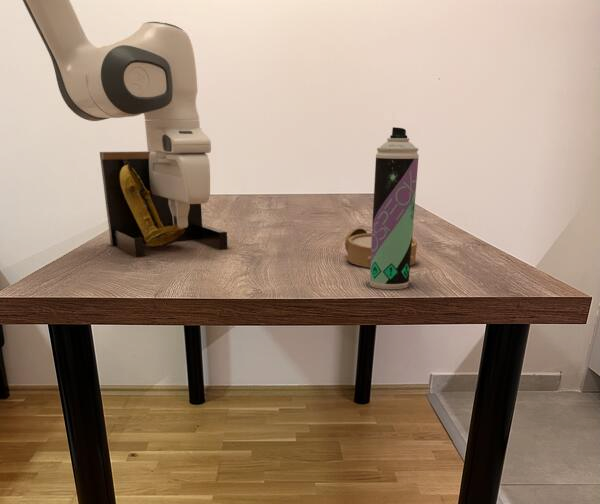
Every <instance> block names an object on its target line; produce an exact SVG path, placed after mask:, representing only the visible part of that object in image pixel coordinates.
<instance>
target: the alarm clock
mask: <svg viewBox="0 0 600 504" xmlns="http://www.w3.org/2000/svg"><path fill="white" fill-rule="evenodd" d="M371 242H372V232H367V231H366V230H365V229H363V228H354V229H352V230H351V231H349V232H348V234H347V235H346V237H345V241H344V247H345V250H346V252H347V255H346V256H347V258H346V259H347V262H349V263H351V264H352V265H356V266H359V267H363V268H368V269H370V262H371ZM417 248H418V240H417V239H415V238H413V237H412V247H411V260H410V266H412V265H414V264H416V260H417V259H416V257H417Z"/></svg>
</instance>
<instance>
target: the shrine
mask: <svg viewBox="0 0 600 504" xmlns="http://www.w3.org/2000/svg"><path fill="white" fill-rule="evenodd" d="M123 162H124V166H123V167H122V169H121V171H120V184H121V188H122V191H123V193H124V196H125V198H126V201H127V203H128V205H129V207H130V209H131V211H132V214H133V215H134V217H135V220H136V221H137V223H138V225H139V228H140V230H141V232H142V234H143V236H144V238H145V239H144V241H145V242H146V244H145V246H147V247H148V248H159V247H163V246H167V245H169V244H172V243H175V242H178V241H177V240H178V237H179V236H181V235H184V232H185V229H184V228H179V227H176V226H174V225H172V226H167V227H163V224H162V223H161V221H160V218H159V216H158V213H157V211H156V209H155V207H154V204H153V203H152V200H151V199H152V198H150V195H149V194H150V191H147V190H146V188H145V186H144V184H143V183H142V180H140V177H139V176H138V175H137V173H136V172H135V170H134V169H133V168H132V167H131V164H130V163H128V161H127V160H125V159H124V160H123Z"/></svg>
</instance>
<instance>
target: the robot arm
mask: <svg viewBox="0 0 600 504" xmlns="http://www.w3.org/2000/svg"><path fill="white" fill-rule="evenodd" d="M22 2H23V4H24V7H25V8H26V10H27V13H29V16H30V18H31V20H32V22H33V24H34V26H35V29H36V30H37V32H38V34H39V37H40V38H41V41H42V42H43V44H44V46H45V48H46V50H47V52H48V54H49V56H50V59H51V60H50V61H51V62H52V66H53V69H54V73H55V77H56V79H55V80H56V82H57V87H58V91H59V93H60V96H61V97H62V100H63V102H64V103H65V104H66V106H67V107H68V108H69V110H70V111H71V112H73V113H74V114H75V115H76V116H77V117H79V118H81V119H83V120H87V121H90V122H99V121H100V122H101V121H104V120H108V119H122V118H131V117H137V116H138V117H139V116H140V115H143V116H144V124H145V125H144V126H145V135H146V137H145V138H146V145H147V151H151V152H150V154H149V178H150V188H151V191H152V194H153V195H157V196H161V197H164V198H168V203H169V208H170V211H171V214H172V217H173V225H174V226H176V227H179V228H186V227H188V213H189V208H190V204H201V205H202V204H207V203H208V202H209V200H210V196H211V165H210V159H209V155H208V154H209V153H211V151H212V143H211V138H210V137H209V136H208V135H206V133H204V131H203V130H202V128H201V125H200V115H199V111H198V108H197V95H198V78H197V77H198V75H197V65H196V58H195V53H194V47H193V43H192V41H191V39H190V36H189V35H188V33H187V31H185V30H183V29H182V28H181V27H179V26H177V25H175V24H171V23H167V22H161V21H147V22H144V23H142V24H141V25H140V27H139V29H138V30H136V31H135V32H134V33H132V34H130V35H129V36H127V37H126V38H123V39H122V40H119V41H116V42H114V43H113V44H110V45H103V46H101V47H96V46H95V45H94V44H93V43H92V42H91V41H90V40H89V39H88V37H87V35H86V33H85V31H84V30H83V27H82V25H81V22H80V20H79V18H78V15H77V13H76V12H75V9H74V7H73V5H72V2H71V0H22Z"/></svg>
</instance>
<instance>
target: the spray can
mask: <svg viewBox="0 0 600 504" xmlns="http://www.w3.org/2000/svg"><path fill="white" fill-rule="evenodd" d="M386 139H387V141H386V142H384V143H382V145H380V146H379V147H376V151H377V153H376V154H375V167H374V187H373V204H372V205H373V207H372V226H371V233H372V242H371V262H370V268H369V286H370V287H372V288H375V289H381V290H401V289H406V288H408V287H409V283H410V273H411V272H410V271H411V269H410V268H411V265H410V260H411V247H412V238H413V232H414V220H415V206H416V196H417V195H416V194H417V182H418V170H419V156H420V155H419V153H418V152H419V148H418V147H416V146H415V145H414V144H413V143H411V141H410V137H408V135H407V130H406V129H405V128H402V127H395V126H394V127H392V130H391V134H390V135H389V137H388V138H386Z"/></svg>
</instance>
